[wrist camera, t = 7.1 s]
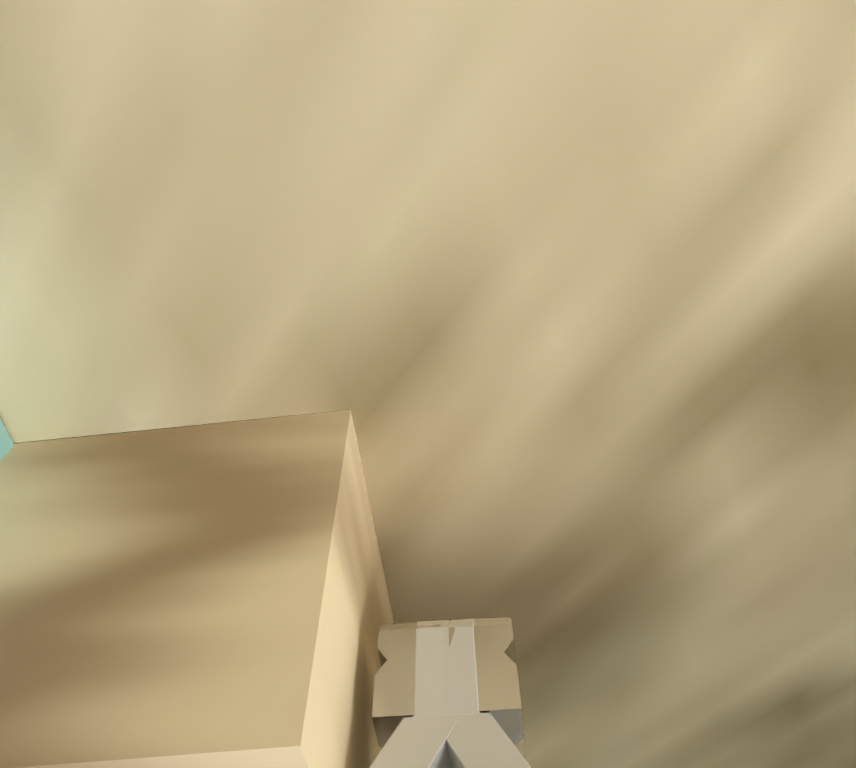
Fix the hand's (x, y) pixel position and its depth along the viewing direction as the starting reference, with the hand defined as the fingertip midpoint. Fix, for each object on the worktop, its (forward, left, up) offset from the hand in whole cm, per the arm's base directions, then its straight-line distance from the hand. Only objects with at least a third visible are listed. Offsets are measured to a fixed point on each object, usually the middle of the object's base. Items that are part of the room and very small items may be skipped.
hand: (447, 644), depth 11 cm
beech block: (+4, 0, -3) cm, 5 cm away
